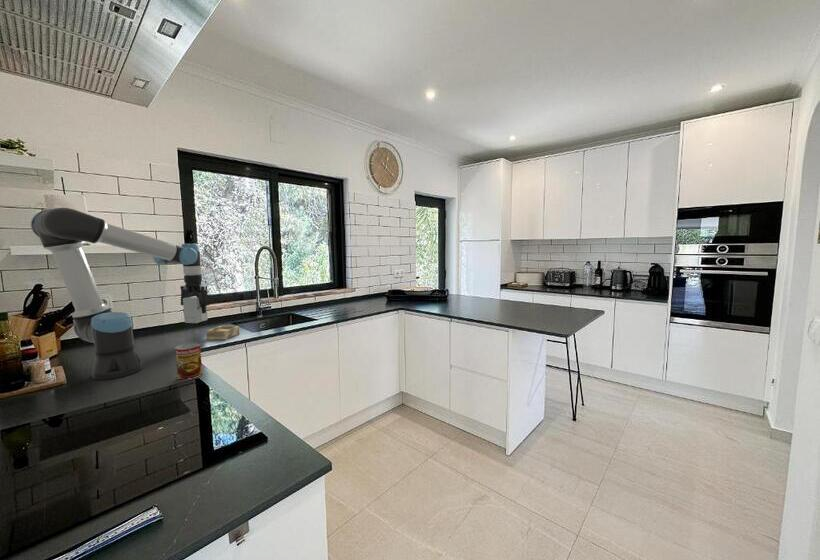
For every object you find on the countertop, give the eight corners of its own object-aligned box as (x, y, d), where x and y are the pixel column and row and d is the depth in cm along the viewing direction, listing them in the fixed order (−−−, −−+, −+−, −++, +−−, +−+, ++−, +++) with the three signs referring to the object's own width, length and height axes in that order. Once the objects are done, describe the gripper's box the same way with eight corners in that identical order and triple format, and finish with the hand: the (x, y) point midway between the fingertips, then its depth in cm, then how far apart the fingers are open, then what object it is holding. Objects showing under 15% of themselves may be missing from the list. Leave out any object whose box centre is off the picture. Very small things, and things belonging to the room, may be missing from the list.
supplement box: (197, 323, 170) (195, 298, 168) (184, 322, 171) (182, 298, 169) (208, 320, 177) (206, 295, 175) (195, 319, 178) (193, 295, 177)
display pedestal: (224, 340, 177) (224, 331, 177) (206, 339, 180) (206, 330, 179) (239, 334, 188) (238, 326, 188) (222, 333, 190) (221, 325, 190)
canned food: (178, 382, 125) (174, 350, 123) (178, 375, 131) (175, 345, 130) (203, 377, 129) (200, 346, 128) (202, 370, 136) (199, 341, 134)
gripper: (215, 273, 173) (219, 318, 175) (181, 273, 177) (185, 316, 179) (204, 275, 165) (207, 321, 168) (169, 274, 170) (172, 320, 172)
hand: (196, 319), depth 174 cm, fingers closed on supplement box, 7 cm apart
